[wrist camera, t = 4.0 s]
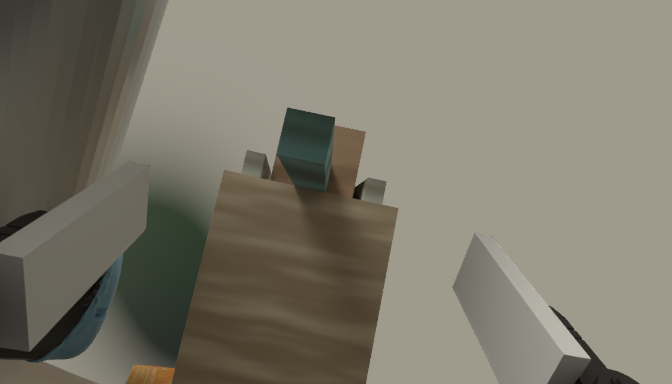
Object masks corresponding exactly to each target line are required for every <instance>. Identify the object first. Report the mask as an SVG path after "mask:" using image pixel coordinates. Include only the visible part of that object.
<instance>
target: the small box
mask: <svg viewBox="0 0 672 384" xmlns="http://www.w3.org/2000/svg"><path fill="white" fill-rule="evenodd" d="M174 371H175V368H165V367H156V366H146V365H134V366H133V369H132V371H131V373H130V375H129V377H128V380H127V381H126V384H171V383H172V379H173V375H174Z"/></svg>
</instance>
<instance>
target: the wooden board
mask: <svg viewBox="0 0 672 384" xmlns="http://www.w3.org/2000/svg"><path fill="white" fill-rule="evenodd" d="M270 179H271V171H270V168H269V164H268V161H267V157H266V155H265V154H262V153H257V152H253V151H249V150H247V152H246V156H245V160H244V165H243V169H242V173H241V174H240V173H235V172H231V171H226V170H224V173H223V177H222V181H221V185H220V189H219V193H218V197H217V201H216V205H215V209H214V213H213V217H212V221H211V225H210V229H209V233H208V237H207V241H206V246H205V249H204V253H203V257H202V261H201V266H200V270H199V274H198V278H197V282H196V286H195V290H194V294H193V298H192V302H191V306H190V310H189V314H188V318H187V322H186V326H185V331H184V334H183V338H182V343H181V346H180V350H179V354H178V359H177V363H176V367H175V371H174V375H173V379H172V383H171V384H366V380H367V374H368V368H369V363H370V358H371V353H372V347H373V342H374V336H375V331H376V326H377V320H378V314H379V309H380V304H381V298H382V293H383V288H384V283H385V277H386V271H387V266H388V261H389V255H390V250H391V245H392V239H393V234H394V229H395V223H396V218H397V213H398V208H395V207H390V206H385V205H382V202H383V197H384V191H385V186H386V182H385V181H381V180H377V179H372V178H368V179H366V180H365V181H364V182H362V183H361V184H359V185H358V186H356V187H355V188H354V192H353V197H352V198H349V197H345V196H340V195H335V194H331V193H326V192H322V191H317V190H313V189H308V188H304V187H299V186H295V185H290V184H285V183H281V182H276V181H272V180H270Z"/></svg>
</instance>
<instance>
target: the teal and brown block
mask: <svg viewBox="0 0 672 384" xmlns="http://www.w3.org/2000/svg"><path fill="white" fill-rule="evenodd" d="M334 124H335V117H330V116H325V115H321V114H316V113H311V112H306V111H301V110H296V109H291V108H287V112H286V116H285V119H284V123H283V127H282V132H281V136H280V140H279V145H278V149H277V153H276V158H275V162H274V166H273V171H272V175H271V179H270V180H272V181H276V182H281V183H285V184H290V185H295V186H299V187H304V188H308V189H313V190H317V191H322V192H326V193H331V194H335V195H340V196H345V197H349V198H352V197H353V192H354V187H355V182H356V177H357V172H358V167H359V162H360V157H361V153H362V148H363V143H364V138H365V133H366V132H364V131H358V130H354V129H349V128H344V127H339V126H335V125H334Z"/></svg>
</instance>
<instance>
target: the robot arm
mask: <svg viewBox="0 0 672 384" xmlns="http://www.w3.org/2000/svg"><path fill="white" fill-rule="evenodd" d="M167 3H168V0H0V359H6V360H26V361H28V362H40V361H41V362H42V361H45V360H52V359H53V360H55V359H70V358H73V357H76V356H78V355H80V354H81V353H82V352H84V351H85V350H86V349H87V348H88V347H89V346H90V344H91V343H92V342H93V340H94V339H95V337H96V335H97V334H98V332H99V330H100V328H101V326H102V324H103V322H104V319H105V316H106V310H107V309H108V307H109V306H110V304H111V302H112V299H113V297H114V294H115V290H116V287H117V284H118V280H119V276H120V272H121V265H122V260H123V252H124V251H125V250H126V249H127V248H128V247H129V246H130V245H131V244H132V243H133V242H134V241H135V240H136V239H137V238H138V237H139V235H140V234H141V233H142V232H143V231H144V230H145V229H146V217H147V200H148V183H149V165H144V164H140V163H135V162H131V161H128V162H127V163H125V164H124V165H122V166H120V167H119V168H117V169H116V170H115V167H116V164H117V160H118V157H119V154H120V151H121V148H122V145H123V142H124V138H125V135H126V132H127V129H128V126H129V123H130V119H131V116H132V113H133V110H134V107H135V104H136V100H137V97H138V94H139V91H140V88H141V85H142V82H143V79H144V75H145V72H146V69H147V66H148V63H149V60H150V56H151V53H152V50H153V47H154V44H155V40H156V38H157V34H158V31H159V28H160V25H161V22H162V19H163V16H164V12H165V9H166V6H167ZM453 290H454V291H455V294H456V296H457V298H458V300H459V301H460V304H461V306H462V308H463V310H464V312H465V314H466V316H467V318H468V320H469V322H470V324H471V326H472V329H473V331H474V333H475V335H476V337H477V339H478V341H479V343H480V345H481V346H482V349H483V351H484V353H485V355H486V357H487V359H488V361H489V363H490V366H491V368H492V369H493V372H494V373H495V376H496V378H497V380H498V382H499V384H639V383H638V382H636V381H635V380H633V379H632V378H630V377H628V376H626V375H624V374H622V373H620V372H618V371H614V370H610V369H607V368H606V366H605V365H604V364H603V363H602V362H601V360H600V359H599V358H598V357H597V356H596V354H595V353H594V352H593V351H592V350H591V348H590V347H589V346H588V345H587V344H586V342H585V341H584V340H582V338H581V336H580V335H579V334H578V333H577V332H576V331H574V328H573V327H572V326H571V325H570V323H569V322H568V321H567V320H566V318H565V317H563V316H562V315H561V314H560V313H559V312H557V311H556V310H555V309H554V308H552V307H551V306H548V305H547V304H546V302H545V301H544V300H543V299H542V298H541V296H540V295H539V294H538V293H537V291H536V290H535V289H534V288H533V286H532V285H531V284H530V283H529V281H528V280H527V279H526V278H525V276H524V275H523V274H522V273H521V271H520V270H519V269H518V268H517V267H516V265H515V264H514V263H513V262H512V260H511V259H510V258H509V257H508V255H507V254H506V253H505V252H504V250H503V249H502V248H501V247H500V245H499V244H498V243H497V242H496V241H495V239H494V238H493V237H492V236H489V235H484V234H479V233H474V236H473V238H472V241H471V243H470V246H469V248H468V250H467V253H466V255H465V258H464V260H463V263H462V265H461V268H460V270H459V273H458V275H457V278H456V280H455V282H454V285H453Z"/></svg>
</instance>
